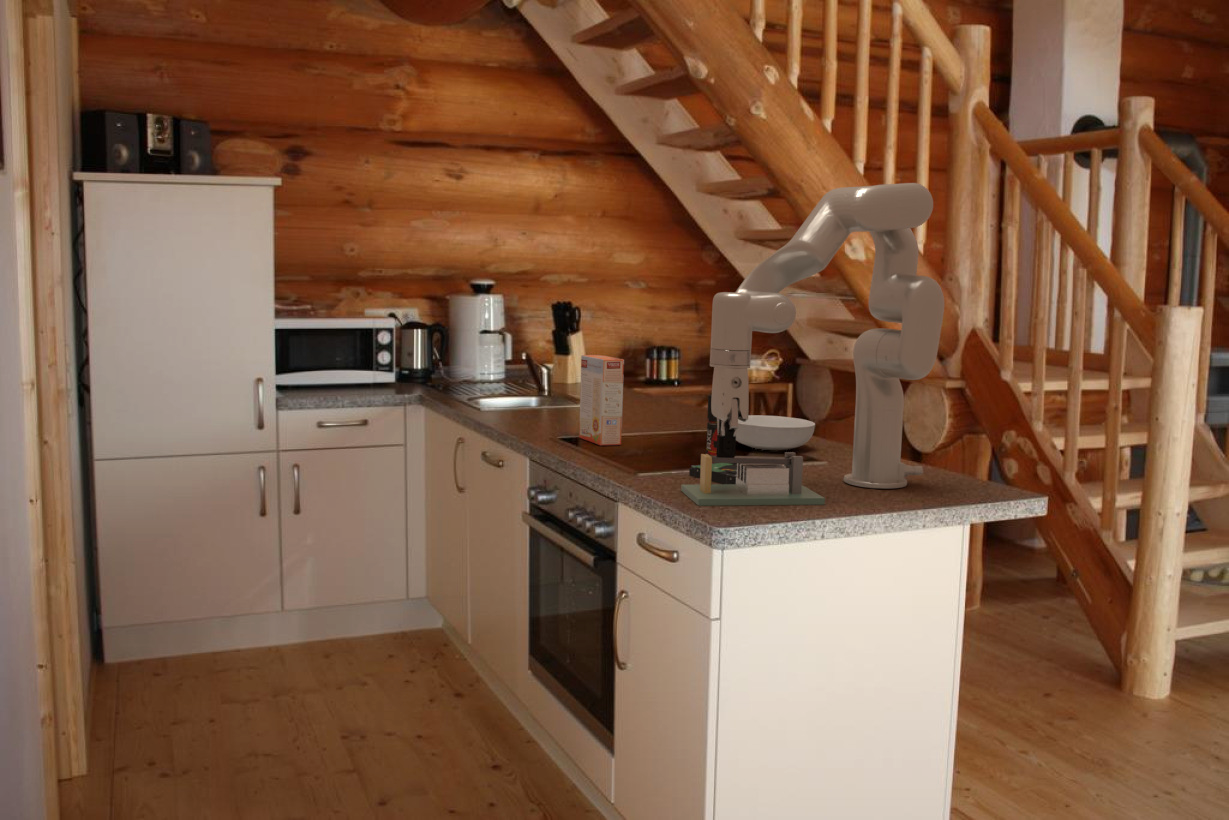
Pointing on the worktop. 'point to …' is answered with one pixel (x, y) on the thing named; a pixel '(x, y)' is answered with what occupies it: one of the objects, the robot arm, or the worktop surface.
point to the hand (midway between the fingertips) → (725, 456)
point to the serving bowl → (774, 432)
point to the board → (732, 496)
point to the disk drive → (718, 472)
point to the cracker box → (601, 399)
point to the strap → (753, 460)
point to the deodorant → (711, 431)
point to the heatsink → (762, 479)
